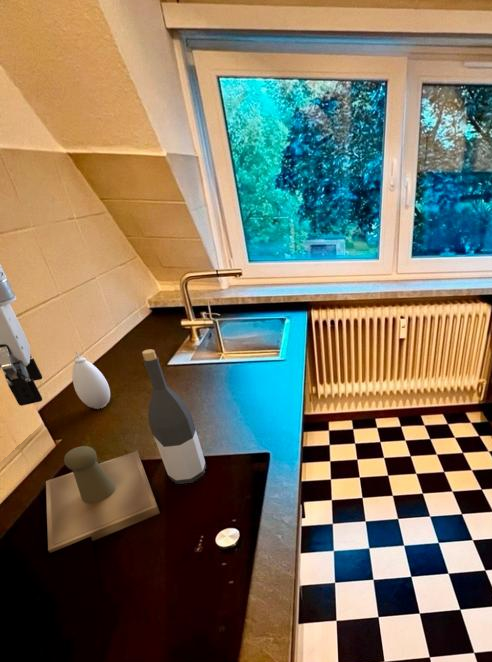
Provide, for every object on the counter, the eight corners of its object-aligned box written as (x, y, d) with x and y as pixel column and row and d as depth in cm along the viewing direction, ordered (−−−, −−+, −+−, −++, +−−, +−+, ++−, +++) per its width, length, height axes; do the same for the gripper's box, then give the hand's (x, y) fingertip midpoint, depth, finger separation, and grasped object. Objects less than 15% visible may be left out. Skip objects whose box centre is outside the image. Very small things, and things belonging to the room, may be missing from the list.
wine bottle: (211, 477, 87) (175, 353, 70) (173, 490, 83) (125, 364, 67) (202, 457, 92) (167, 339, 76) (166, 469, 89) (121, 348, 73)
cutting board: (53, 557, 69) (47, 550, 68) (49, 487, 84) (45, 480, 83) (160, 513, 78) (157, 506, 77) (139, 457, 93) (137, 450, 92)
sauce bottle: (80, 407, 112) (53, 350, 102) (109, 397, 117) (86, 341, 107) (91, 417, 108) (63, 358, 98) (120, 406, 113) (97, 348, 103)
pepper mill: (115, 479, 83) (96, 438, 77) (114, 497, 79) (94, 455, 73) (83, 488, 81) (60, 446, 75) (80, 507, 76) (55, 464, 70)
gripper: (-43, 285, 63) (8, 378, 73) (-62, 313, 52) (1, 419, 61) (15, 279, 67) (56, 368, 76) (9, 304, 55) (58, 406, 64)
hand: (32, 391), depth 69 cm, fingers open, 9 cm apart
